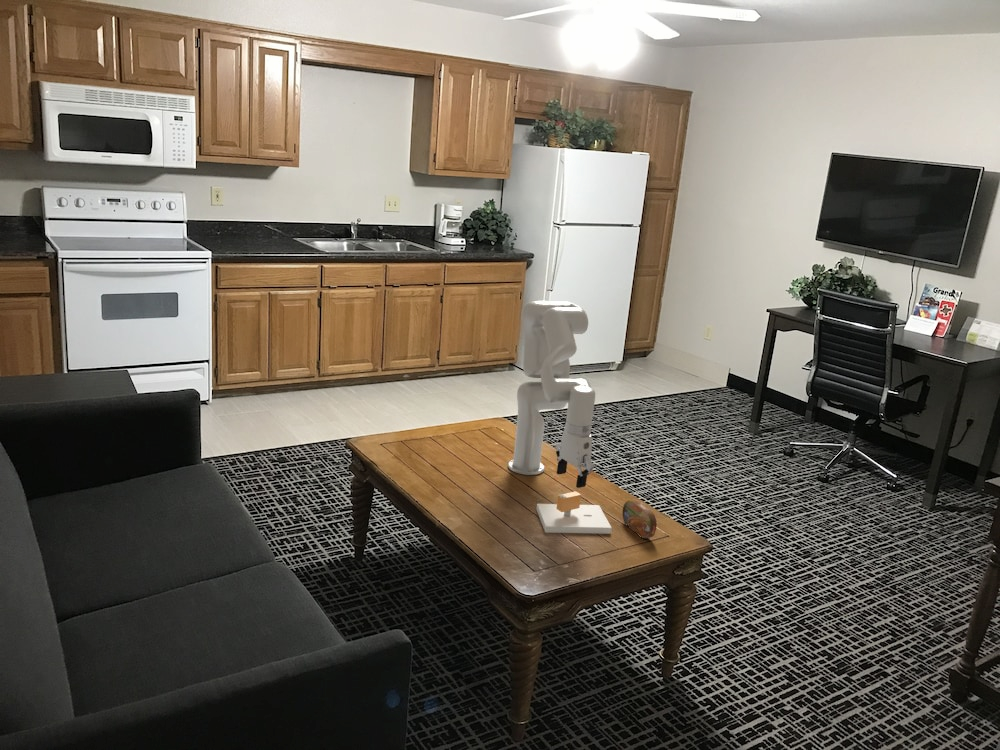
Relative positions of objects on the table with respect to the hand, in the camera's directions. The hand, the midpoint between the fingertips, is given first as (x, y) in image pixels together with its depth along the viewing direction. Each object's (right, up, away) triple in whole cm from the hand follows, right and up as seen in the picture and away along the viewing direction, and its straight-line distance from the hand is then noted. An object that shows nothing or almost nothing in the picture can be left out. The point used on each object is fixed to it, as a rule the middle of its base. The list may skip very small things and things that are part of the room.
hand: (570, 480), depth 242 cm
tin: (+20, -16, +1) cm, 26 cm away
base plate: (+1, -13, +4) cm, 14 cm away
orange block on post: (-1, -9, +2) cm, 9 cm away
